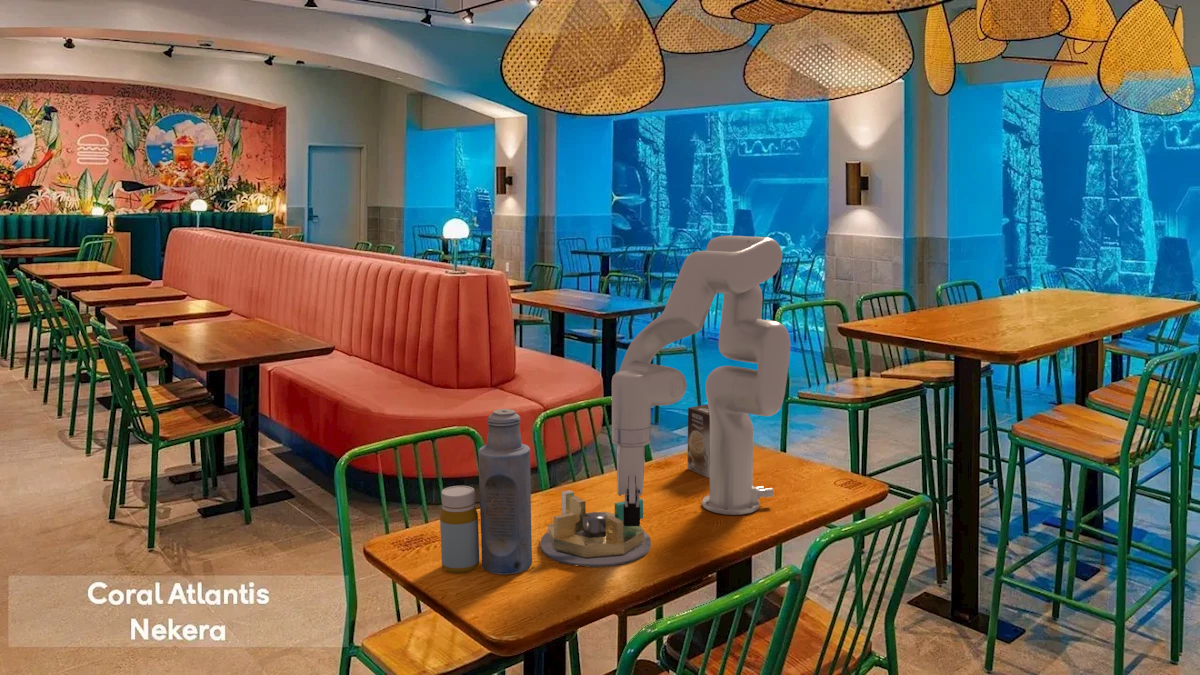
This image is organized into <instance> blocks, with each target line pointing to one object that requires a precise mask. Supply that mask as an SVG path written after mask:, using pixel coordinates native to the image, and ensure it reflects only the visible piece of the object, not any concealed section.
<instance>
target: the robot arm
mask: <svg viewBox="0 0 1200 675" xmlns="http://www.w3.org/2000/svg"><path fill="white" fill-rule="evenodd" d="M782 262H783V251H782V247H781V246H780V244H779V242H778V241H777V240H775V239H773V238H771V237H766V236H765V237H764V236H744V235H721V236H717V237H716V236H715V237H714V238H712V239H710V240H709V241H708V243H707V245H706V249H705V250H698V251H697V250H696V251H694V252H692V253H690V254H688V255H687V256H686V257H685V259H684V261H683V264H682V266H681V269H680V271H679V273H678V276H677V277H676V281H675V283H674V284H673V288H672V289H671V293H670V294H669V295H670V296H669V297H668V299H667V302H666V305H665V306H664V310H663V312H662V313H661V314H660V315H659V316H658V317H656V318H655V319H653V320H652V321H651V322H649V323H648V325H646V326H645V327H644V328H643V329H642V330H641V331H640V332H638V333H637V334H636V336H635V337H634V338H633V339H632V340H631V342H630V344H629V345H628V348H627V350H626V352H625V355H624V356H623V357H624V358H623V359H622V362H621V363H620V364H621V365H620V368H619V371H617V372H615V373H614V374H613V375H612V377H611V378H612V379H611V442H612V444H613V445H616V446H617V448H616V488H617V495H618V496H620V497H621V496H623V495H624V501H625V504H623V505H624V526H641V519H640V504H639V498H640V497H641V496H642V495H643V490H644V481H645V480H644V479H645V446H647V445H649V444H651V442H652V441H651V438H652V436H651V432H652V430H651V429H652V428H651V427H652V426H651V425H652V424H651V423H652V422H651V420H652V417H651V416H652V414H651V412H652V411H651V408H652V407H654V406H670V405H673V404H676V403H677V402H679V401H681V400H682V398H683V397H684V395H685V394H686V391H687V384H688V383H687V380H686V379H687V378H686V377H685V374H684V373H682V372H681V371H680V370H678V369H677V368H674V367H670V366H667V365H666V366H665V365H659V364H656V363H655V364H653V363H651V362H652V360H653V359H654V357H655V356H656V355H657V354H658V353H659V352H660V351H661V350H662V349H663V348H665V347H666V346H668V345H670V344H671V343H675V342H677V341H678V340H682V339H684V338H687V337H690V336H692V335H694V334H697V333H699V332H700V331H701V330H702V328H703V326H704V324H705V322H706V318H707V316H708V313H709V312H710V309H711V306H712V303H713V301H714V299H715V296H716V295H717V294H722V295H723V298H722V307H721V308H722V310H721V318H720V326H719V333H718V350H719V352H720V354H721V355H722V356H723V357H724V358H726V359H728V360H732V361H739V362H744V363H745V362H746V363H751V364H757V369H752V368H748V367H741V366H736V365H735V366H732V365H722V366H718V367H716V368H714V369H713V370H712V371H710V373H709V374H708V375H707V378H706V381H705V396H706V400H707V404H708V407H709V415H710V477H709V494H708V495H705V496H704V497H703V498H702V502H701V503H702V504H701V505H702V506H703V508H704V509H705V510H707V511H709V512H712V513H715V514H720V515H728V516H738V515H746V514H747V515H748V514H752V513H754V512H756V511H757V510H759V508H760V501H759V500H760V499H761V498H771V497H774V494H775V493H774V489H773V487H769V488H764V486H763V485H761V486H754V485H753V484H754V483H753V482H754V481H753V478H754V476H753V470H754V468H753V467H754V460H753V459H754V426H753V423H752V420H751V417H750V416H749V415H756V416H761V417H772V416H774V415H775V414H777V413H778V412H779V411H780V409H781V407H782V405H783V404H784V399H785V395H786V387H787V380H788V371H789V364H790V356H791V337H790V334H789V330H788V329H787V328H786V327H785V325H784V324H782V323H781V322H778V321H776V320H769V319H762V312H763V311H762V309H763V292H762V289H761V286H760V285H761V284H763V283H765V282H766V281H768V280H769V279H771V278H772V277H773V276H775V275H776V274H777V272H778V271H779V270H780V267H781V264H782Z"/></svg>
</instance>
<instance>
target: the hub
mask: <svg viewBox="0 0 1200 675" xmlns="http://www.w3.org/2000/svg"><path fill="white" fill-rule="evenodd" d="M573 496H575V492H574V491H573V490H570V489H568V490H564V491H561V515H562V514H567V513H570V497H573ZM600 512H601V511H594V512H586V513H587V514H585V515H583V530H582V531H579V532H577V533H576V535H580V536H584V537H588V538H595V537H606V517H607V516H608V515H607V514H604V513H600ZM651 543H652V540H651V537H650V535H649V534H648V533H647V532H646V531H644V542H643V543H641V544H639V545H638V546H636V547H634V548H633V549H631V550H630V551H628V552H626V553H625V554H617V555H606V556H595V557H583V556H579V555H575V554H571V553H567V552H563V551H559V550H555V549H554V548H553V546H552V544H551V541H550V539H549V536H548V531H547V532H546V533H544V535H543V536H541V538H540V551H541V552H542V553H543V555H544V556H545V555H546V556H545V557H547V558H549V559H550V560H552V561H554V562H557V563H561V564H563V563H564V564H563V565H567V564H569V565H568V566H573V565H578V566H577V567H580V566H588V567H587V568H607V567H606V566H608V567H615V566H620V565H624V564H625V563H626V564H630V563H632V562H635V561H637V560H639V559H641V558H643V557H645V556H646V555H647V554H648V553H649V552H650V550H651V545H652V544H651ZM589 566H590V567H589Z"/></svg>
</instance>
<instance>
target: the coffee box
mask: <svg viewBox="0 0 1200 675" xmlns="http://www.w3.org/2000/svg"><path fill="white" fill-rule="evenodd" d="M686 468H687V469H688V470H690V471H693V472H694V473H697V474H698V475H701V476H703V477H705V478H708V479H710V415H709V407H708V403H707V404H702V405H696V406H690V407H688V408H687V467H686Z"/></svg>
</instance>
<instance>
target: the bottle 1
mask: <svg viewBox="0 0 1200 675" xmlns="http://www.w3.org/2000/svg"><path fill="white" fill-rule="evenodd" d="M440 496H441V512H440V515H439V524H440V549H441V550H440V552H441V553H440V554H441V567H442V568H443V569H444V570H445V571H446V572H448V573H451V574H466V573H470V572H472V571H474V570H476V569H477V567H478V566H479V565H480V539H479V538H480V536H479V516H478V515H479V513H478V511H477V508H476V491H475V488H473V487H471V486H469V485H453V486H448V487H445V488H443V489H442V490H441V495H440Z"/></svg>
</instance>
